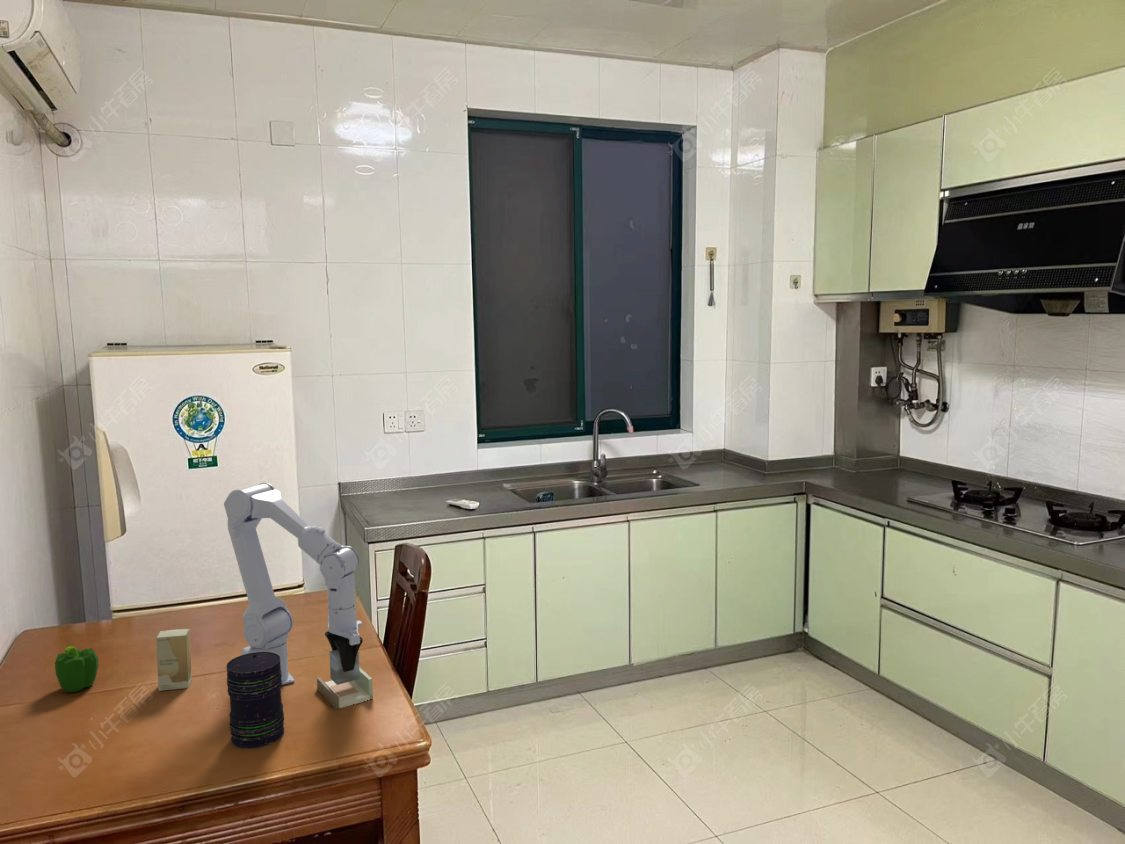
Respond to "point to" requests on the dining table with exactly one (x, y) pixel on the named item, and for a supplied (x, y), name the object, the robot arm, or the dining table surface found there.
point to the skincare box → (173, 659)
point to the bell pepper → (76, 668)
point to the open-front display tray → (347, 691)
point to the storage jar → (255, 700)
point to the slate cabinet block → (337, 669)
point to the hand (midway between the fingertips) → (344, 666)
